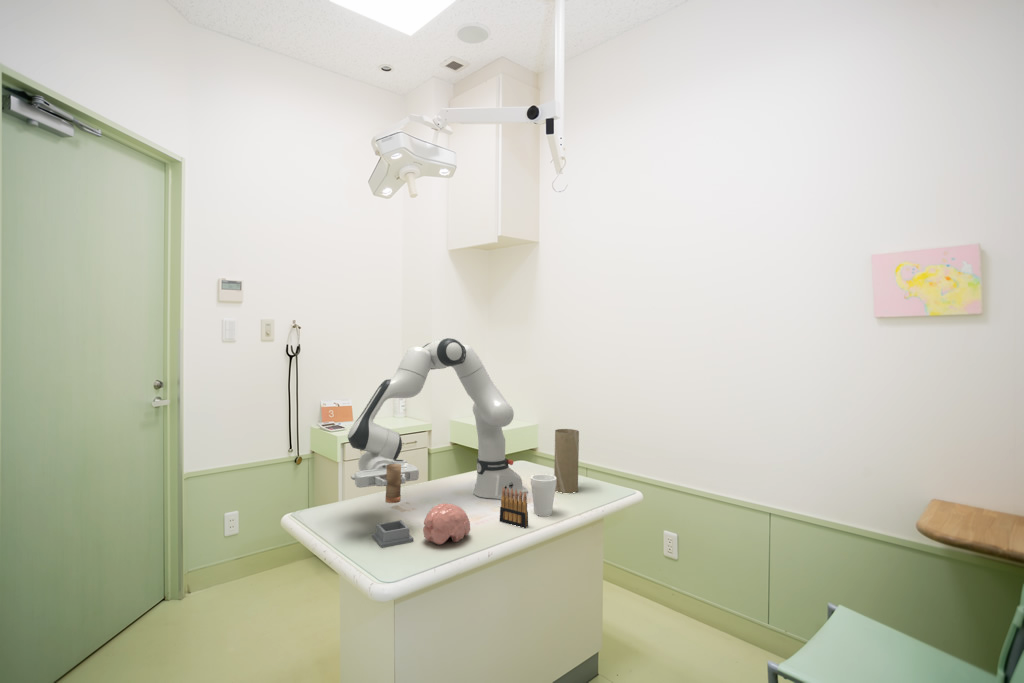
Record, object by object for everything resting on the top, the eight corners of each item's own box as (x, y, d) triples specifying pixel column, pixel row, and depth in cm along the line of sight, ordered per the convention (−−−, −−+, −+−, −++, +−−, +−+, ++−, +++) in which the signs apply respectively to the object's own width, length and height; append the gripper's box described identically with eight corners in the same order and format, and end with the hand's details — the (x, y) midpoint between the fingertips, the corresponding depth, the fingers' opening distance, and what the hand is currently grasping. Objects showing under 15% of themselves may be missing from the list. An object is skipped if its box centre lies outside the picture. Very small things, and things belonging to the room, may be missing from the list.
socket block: (402, 530, 163) (402, 518, 163) (413, 541, 155) (413, 528, 155) (371, 536, 158) (372, 523, 158) (381, 547, 150) (381, 534, 150)
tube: (574, 486, 217) (575, 428, 217) (580, 493, 207) (581, 433, 207) (551, 487, 216) (552, 428, 216) (556, 494, 206) (558, 433, 206)
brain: (446, 543, 165) (458, 505, 168) (473, 554, 156) (484, 514, 160) (409, 535, 154) (423, 495, 158) (436, 546, 145) (449, 504, 149)
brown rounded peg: (397, 497, 160) (398, 463, 160) (402, 501, 156) (403, 466, 156) (383, 499, 157) (384, 464, 157) (388, 504, 153) (389, 468, 153)
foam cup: (524, 513, 182) (525, 477, 182) (541, 507, 189) (541, 472, 189) (545, 519, 176) (545, 482, 176) (561, 513, 183) (561, 477, 183)
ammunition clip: (499, 521, 173) (499, 486, 174) (502, 520, 175) (503, 485, 175) (525, 528, 167) (525, 492, 167) (528, 526, 169) (528, 491, 169)
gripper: (349, 466, 162) (360, 476, 150) (410, 459, 173) (425, 468, 161) (349, 485, 162) (360, 497, 150) (409, 477, 173) (424, 488, 161)
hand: (394, 482), depth 156 cm, fingers closed on brown rounded peg, 4 cm apart
